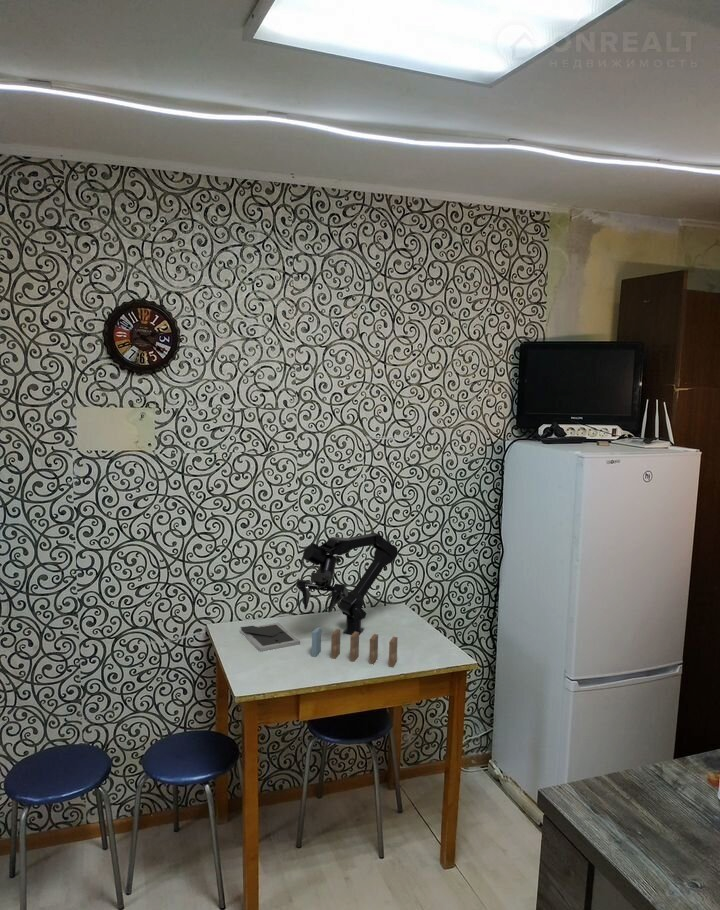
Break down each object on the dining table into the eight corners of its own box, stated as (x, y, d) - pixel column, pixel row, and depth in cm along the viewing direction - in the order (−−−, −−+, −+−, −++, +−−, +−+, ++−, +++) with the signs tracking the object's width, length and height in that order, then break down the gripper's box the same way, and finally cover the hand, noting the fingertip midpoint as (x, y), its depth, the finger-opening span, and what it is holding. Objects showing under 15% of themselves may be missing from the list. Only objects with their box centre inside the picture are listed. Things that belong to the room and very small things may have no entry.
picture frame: (240, 634, 271) (260, 653, 253) (240, 627, 270) (260, 646, 252) (278, 627, 278) (300, 646, 260) (278, 620, 278) (300, 638, 260)
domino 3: (350, 661, 246) (350, 636, 245) (354, 655, 251) (354, 631, 250) (354, 661, 246) (354, 637, 245) (358, 656, 251) (359, 632, 250)
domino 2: (331, 658, 248) (331, 633, 247) (335, 652, 253) (336, 628, 252) (335, 659, 248) (335, 634, 247) (340, 653, 253) (340, 629, 252)
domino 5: (388, 666, 242) (389, 641, 241) (392, 661, 247) (393, 636, 246) (393, 667, 242) (393, 642, 241) (396, 661, 247) (397, 637, 246)
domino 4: (369, 664, 244) (369, 639, 243) (373, 658, 249) (373, 633, 248) (373, 664, 244) (374, 639, 243) (377, 659, 249) (378, 634, 248)
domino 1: (311, 656, 250) (312, 632, 249) (316, 651, 254) (317, 627, 253) (316, 657, 249) (316, 632, 248) (320, 651, 254) (321, 627, 253)
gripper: (296, 559, 258) (285, 600, 251) (344, 564, 252) (334, 606, 245) (305, 570, 267) (296, 610, 260) (352, 575, 261) (343, 616, 254)
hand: (316, 610), depth 254 cm, fingers open, 9 cm apart
